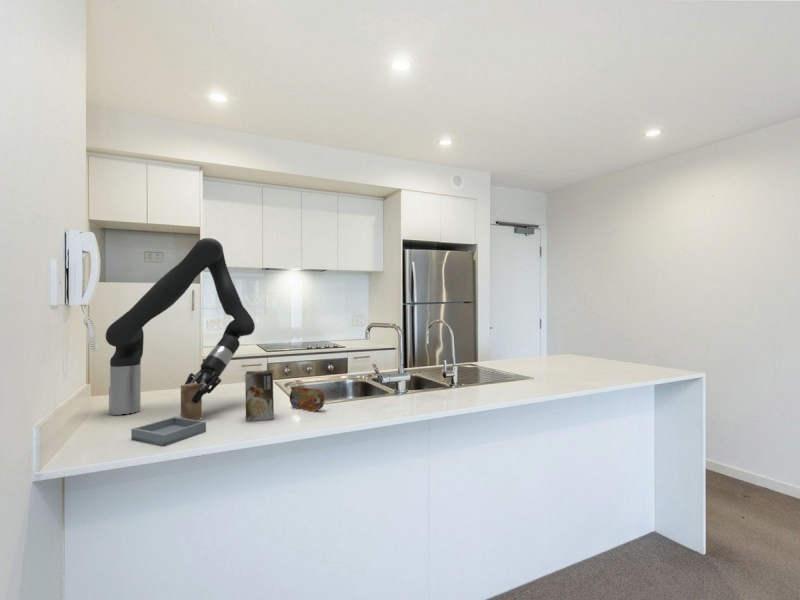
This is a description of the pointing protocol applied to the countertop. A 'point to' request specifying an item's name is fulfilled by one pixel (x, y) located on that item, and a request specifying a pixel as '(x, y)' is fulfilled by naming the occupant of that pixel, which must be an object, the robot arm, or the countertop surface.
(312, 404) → the tin
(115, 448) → the countertop surface
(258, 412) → the coffee box
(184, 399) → the walnut block
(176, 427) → the tray
